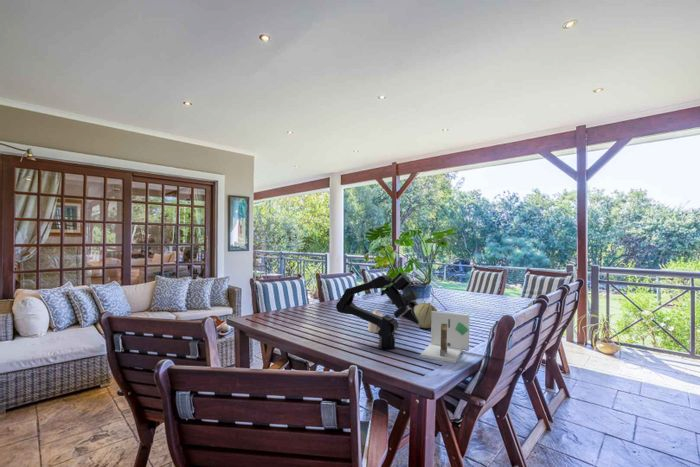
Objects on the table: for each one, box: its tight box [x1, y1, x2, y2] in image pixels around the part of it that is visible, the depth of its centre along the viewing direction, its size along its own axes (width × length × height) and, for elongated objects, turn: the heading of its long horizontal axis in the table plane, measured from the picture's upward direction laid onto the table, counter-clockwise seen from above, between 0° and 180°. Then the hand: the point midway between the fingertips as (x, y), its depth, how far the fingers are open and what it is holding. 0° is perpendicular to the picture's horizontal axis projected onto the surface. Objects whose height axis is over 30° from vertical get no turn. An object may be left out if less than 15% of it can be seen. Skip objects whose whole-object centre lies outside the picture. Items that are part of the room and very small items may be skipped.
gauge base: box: [420, 311, 470, 364], centre depth 158 cm, size 18×19×17 cm
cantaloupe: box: [414, 301, 438, 329], centre depth 204 cm, size 15×15×15 cm
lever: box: [441, 323, 447, 353], centre depth 154 cm, size 2×3×12 cm, turn 153°
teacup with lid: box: [367, 309, 385, 334], centre depth 196 cm, size 12×9×12 cm
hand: (418, 323), depth 159 cm, fingers closed
